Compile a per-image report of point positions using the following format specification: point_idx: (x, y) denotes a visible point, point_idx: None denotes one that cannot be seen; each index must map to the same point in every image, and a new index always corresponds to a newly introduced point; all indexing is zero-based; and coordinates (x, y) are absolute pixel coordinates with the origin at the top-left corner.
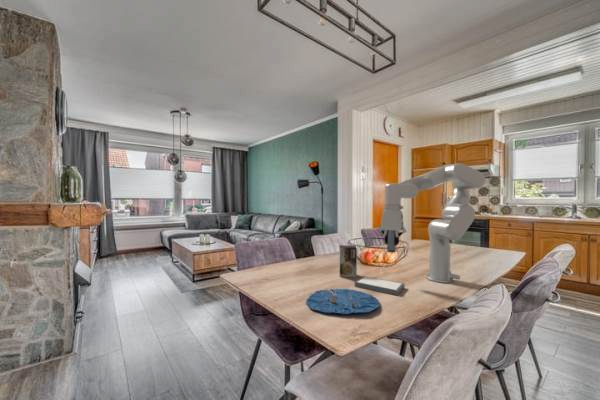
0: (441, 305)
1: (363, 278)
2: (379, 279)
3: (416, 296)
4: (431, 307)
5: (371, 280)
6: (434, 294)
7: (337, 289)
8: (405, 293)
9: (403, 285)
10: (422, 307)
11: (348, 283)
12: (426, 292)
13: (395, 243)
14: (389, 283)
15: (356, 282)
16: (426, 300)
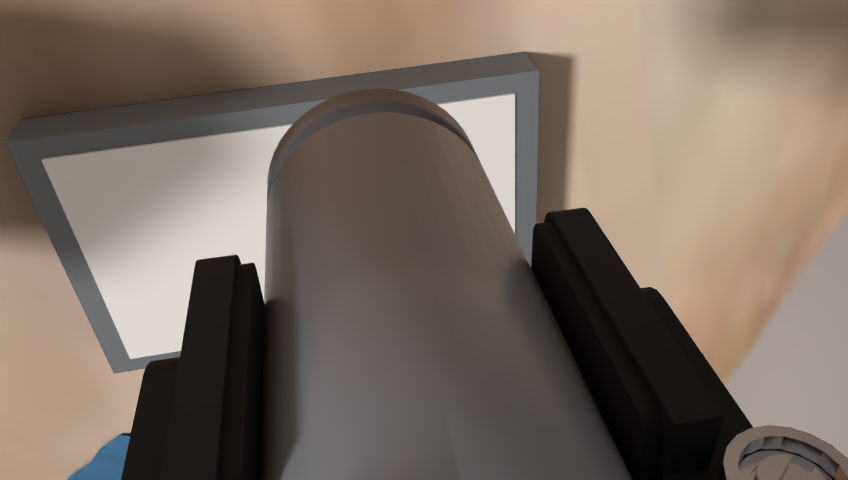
0: (830, 232)
1: (85, 234)
2: (244, 136)
3: (660, 192)
4: (760, 305)
5: (199, 231)
6: (815, 27)
7: (89, 477)
8: (566, 190)
9: (536, 111)
10: (706, 340)
11: (13, 323)
12: (744, 24)
13: None
14: None
15: (131, 367)
16: (735, 217)
